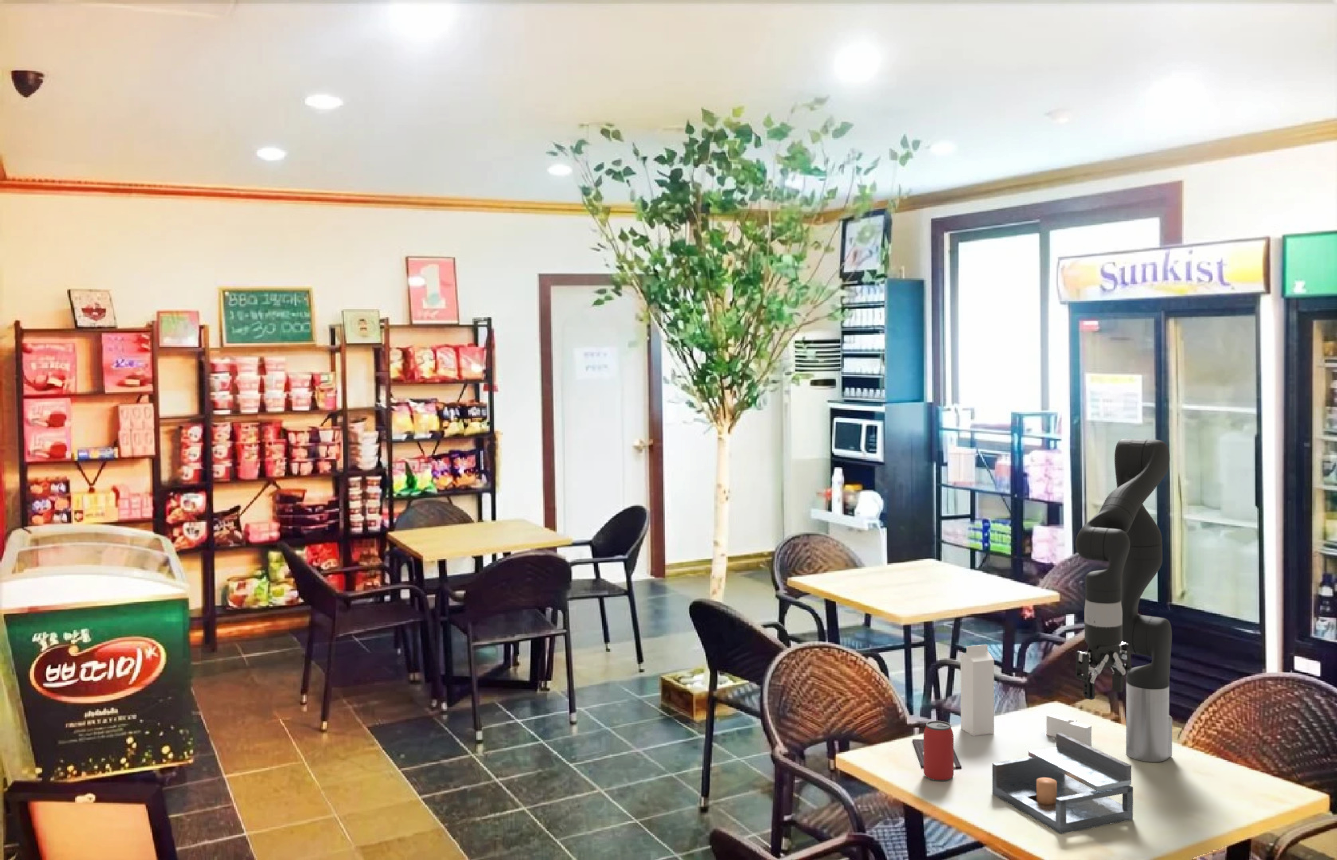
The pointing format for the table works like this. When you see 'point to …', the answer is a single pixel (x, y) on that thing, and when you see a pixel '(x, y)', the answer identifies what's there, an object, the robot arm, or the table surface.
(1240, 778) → the table surface
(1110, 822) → the housing
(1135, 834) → the table surface
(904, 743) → the table surface
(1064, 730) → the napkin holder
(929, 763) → the beer can
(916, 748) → the chocolate bar
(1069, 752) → the cover
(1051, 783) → the rounded orange stub
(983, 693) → the milk
